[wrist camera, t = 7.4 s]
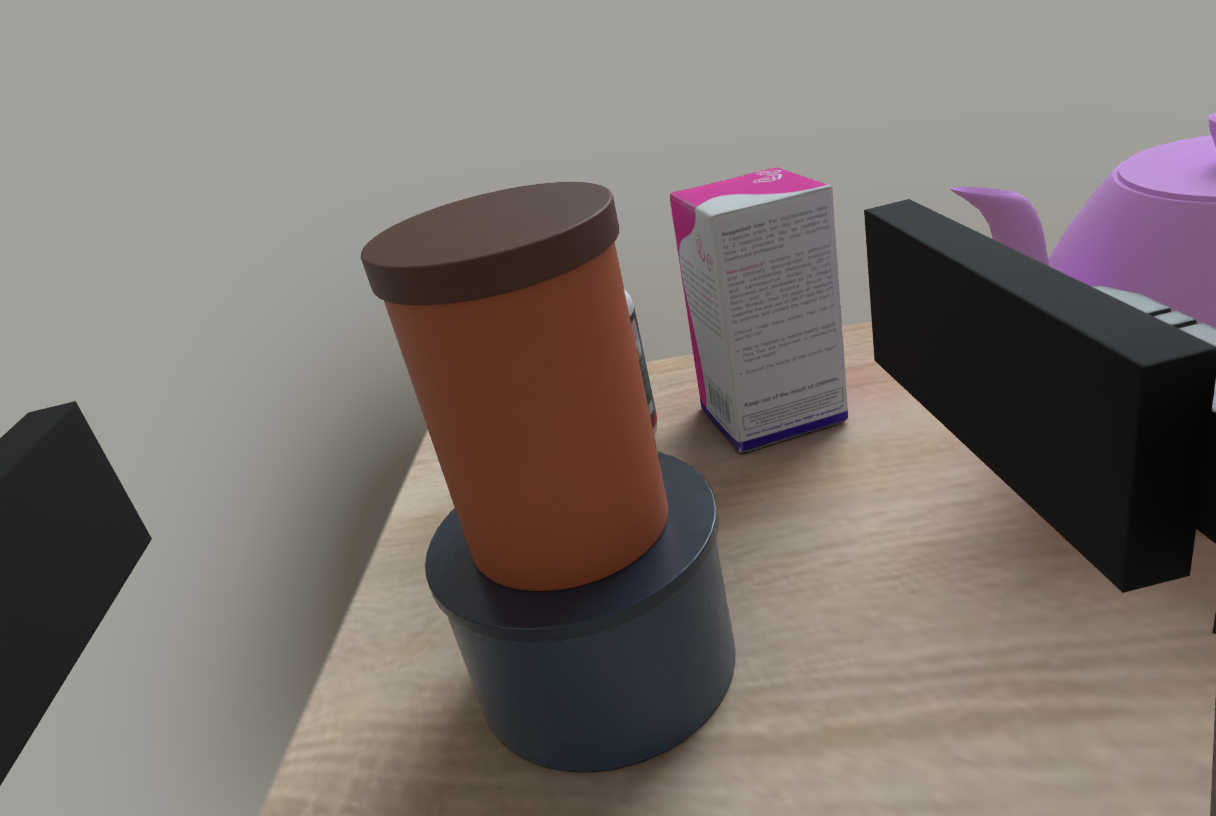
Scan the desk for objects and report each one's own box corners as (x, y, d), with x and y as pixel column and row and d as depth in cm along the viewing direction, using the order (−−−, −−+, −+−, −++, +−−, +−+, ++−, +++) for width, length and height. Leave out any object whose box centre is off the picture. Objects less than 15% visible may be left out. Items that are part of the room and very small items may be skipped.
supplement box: (854, 420, 41) (836, 182, 35) (739, 456, 40) (702, 219, 35) (801, 375, 46) (778, 161, 41) (697, 406, 45) (660, 192, 40)
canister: (525, 632, 23) (413, 287, 18) (433, 529, 28) (329, 243, 24) (719, 519, 26) (663, 194, 21) (601, 445, 31) (537, 173, 27)
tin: (557, 836, 24) (503, 684, 21) (435, 661, 32) (384, 531, 29) (800, 665, 28) (781, 516, 25) (640, 544, 35) (612, 419, 33)
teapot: (1049, 589, 29) (1066, 232, 23) (888, 404, 41) (873, 143, 36) (1636, 460, 28) (1799, 67, 23) (1294, 313, 41) (1343, 37, 35)
